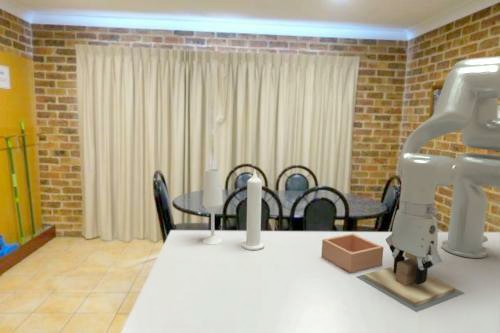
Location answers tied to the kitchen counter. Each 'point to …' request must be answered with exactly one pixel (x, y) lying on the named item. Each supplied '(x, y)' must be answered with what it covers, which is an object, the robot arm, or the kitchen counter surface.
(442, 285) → the lid
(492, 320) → the kitchen counter surface
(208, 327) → the kitchen counter surface
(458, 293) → the mat
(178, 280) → the kitchen counter surface
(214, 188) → the champagne flute
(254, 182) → the candle
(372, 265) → the open wooden tray
